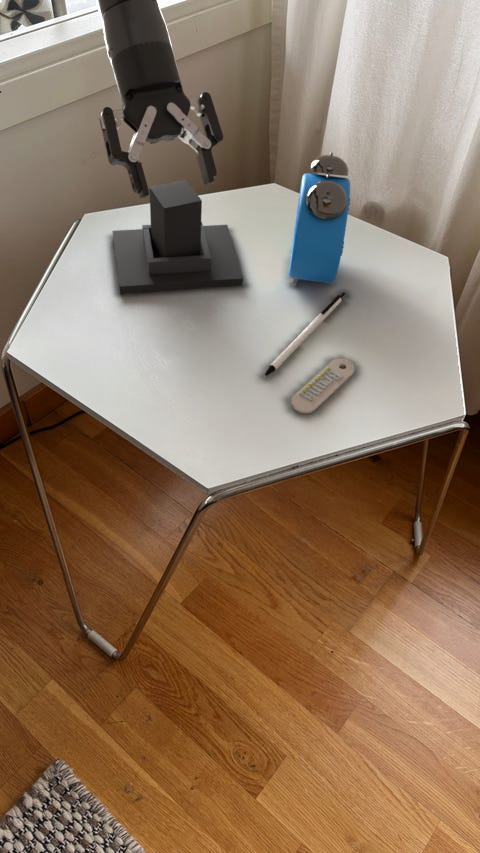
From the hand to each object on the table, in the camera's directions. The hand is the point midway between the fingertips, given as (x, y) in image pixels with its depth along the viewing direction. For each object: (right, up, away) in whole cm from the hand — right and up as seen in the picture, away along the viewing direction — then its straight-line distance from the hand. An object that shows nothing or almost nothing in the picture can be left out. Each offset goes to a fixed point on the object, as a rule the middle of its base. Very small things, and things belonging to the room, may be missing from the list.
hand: (177, 189), depth 87 cm
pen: (+16, -18, +1) cm, 24 cm away
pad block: (-1, -6, +8) cm, 10 cm away
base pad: (-1, -7, +9) cm, 11 cm away
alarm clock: (+17, -8, +10) cm, 21 cm away
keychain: (+17, -24, -4) cm, 30 cm away
